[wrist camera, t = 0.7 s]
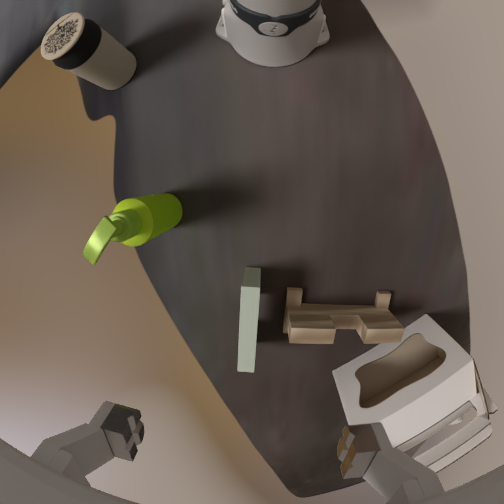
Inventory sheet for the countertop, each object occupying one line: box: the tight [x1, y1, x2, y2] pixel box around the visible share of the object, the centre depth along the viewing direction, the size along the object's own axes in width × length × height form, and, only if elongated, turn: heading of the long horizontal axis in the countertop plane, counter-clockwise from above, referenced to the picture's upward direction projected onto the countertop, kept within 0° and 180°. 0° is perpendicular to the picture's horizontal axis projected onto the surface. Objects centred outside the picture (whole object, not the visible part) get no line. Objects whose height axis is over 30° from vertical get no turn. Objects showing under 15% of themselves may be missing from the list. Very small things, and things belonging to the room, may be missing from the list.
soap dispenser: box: [83, 193, 183, 265], centre depth 36 cm, size 6×7×20 cm
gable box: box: [332, 314, 497, 473], centre depth 37 cm, size 22×13×28 cm, turn 122°
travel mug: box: [41, 12, 136, 90], centre depth 31 cm, size 8×8×18 cm
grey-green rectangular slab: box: [238, 267, 261, 372], centre depth 44 cm, size 14×2×9 cm, turn 177°
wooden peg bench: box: [283, 287, 405, 344], centre depth 44 cm, size 8×18×9 cm, turn 87°
